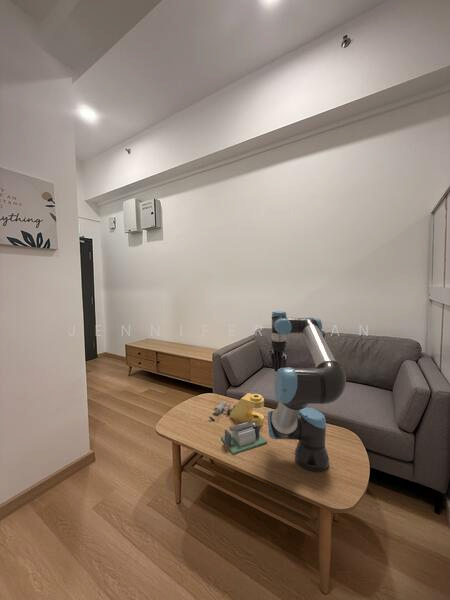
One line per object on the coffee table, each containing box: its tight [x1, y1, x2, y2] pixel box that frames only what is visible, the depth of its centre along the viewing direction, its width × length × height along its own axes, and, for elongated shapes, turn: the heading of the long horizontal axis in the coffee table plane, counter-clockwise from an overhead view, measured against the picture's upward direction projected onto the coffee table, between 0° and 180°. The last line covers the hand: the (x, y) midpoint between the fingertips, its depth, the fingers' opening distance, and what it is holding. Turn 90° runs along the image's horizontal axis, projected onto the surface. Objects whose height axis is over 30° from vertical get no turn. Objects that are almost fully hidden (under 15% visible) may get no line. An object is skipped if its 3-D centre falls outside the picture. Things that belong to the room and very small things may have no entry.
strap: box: [228, 421, 256, 432], centre depth 129 cm, size 15×4×1 cm, turn 115°
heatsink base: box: [220, 421, 268, 455], centre depth 130 cm, size 20×14×8 cm
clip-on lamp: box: [208, 400, 236, 422], centre depth 155 cm, size 12×6×18 cm
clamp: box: [229, 392, 265, 427], centre depth 150 cm, size 20×9×16 cm, turn 57°
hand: (278, 383), depth 133 cm, fingers closed
